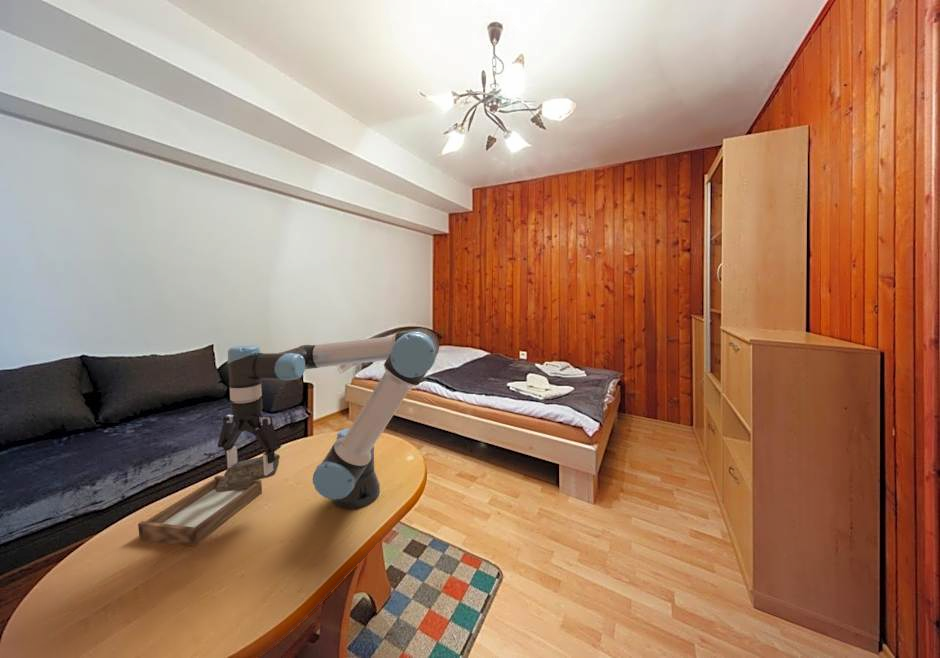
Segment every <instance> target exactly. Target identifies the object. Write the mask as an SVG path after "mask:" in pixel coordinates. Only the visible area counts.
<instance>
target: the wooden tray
mask: <svg viewBox="0 0 940 658" xmlns="http://www.w3.org/2000/svg"><path fill="white" fill-rule="evenodd" d="M223 476H224V475H215V476H214V477H213V478H214V479H212V480H210V481H208V482H207V483H205V484H204V485H202V486H200V487H199V488H197V489H195V490H194V491H193V492H191V493H189V494H187V495H186V496H184V497H182V498H181V499H179V500H178V501H176V502H174V503H172V504H171V505H170V506H168V507H166V508H165V509H163V510H161V511H159V512H158V513H156V514H154V515H153V516H151V517H150V518H149V519H147V520H145V521H144V520H141V521H139V522H138V523H137V526H138V537H139V540H140V541H145V542H146V541H147V542H152V543H153V542H156V543H161V544H170V545H176V546H177V545H178V546H186V547H193V548H194V547H196V546H197V545H198V544H199V543H200V542H202V541H203V540H204V539H206V538H207V537H208V536H210V534H212V533H213V532H215V531H216V530H217V529H219V528H220V527H221V526H222V525H223V524H224V523H226V522H227V521H228V520H229V519H231V518H232V517H234V516H235V515H236V514H237V513H239V512H240V511H241V510H242V509H243V508H245V507H246V506H248V505H249V504H250V503H251V502H253V501H254V500H255V499H256V498H258V497H259V496H260V495H261V494H263V486H262V483H263V482H262V479H259V480H254V481H253V482H252V483H251V484H250V485H249V486H247V487H246V488H243V489H237V490H232V491H226V492H217V491H216V486H217V484H218V482H219V480H220V478H221V477H223Z"/></svg>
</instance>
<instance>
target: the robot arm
mask: <svg viewBox="0 0 940 658" xmlns="http://www.w3.org/2000/svg"><path fill="white" fill-rule="evenodd" d="M439 350H440V344H439V340H438V338H437V336H436V335H435V333H433V331H431V330H429V329H426V328H422V327H421V328H420V327H419V328H414V329H410V330H406V331H400V332H398V331H397V332H395V333H394V334H393V335H392V336H383V337H372V338H366V339H365V338H364V339H357V340H348V341H346V340H345V341H340V342H338V341H337V342H331V343H321V344H320V343H319V344H303V345H300V346H298V347H295V348H292V349H288V350H284V351H282V352H281V351H280V352H278V353H276V352H275V353H274V352H273V353H272V352H271V353H266V352H265V353H263V352H261V350H260V347H259V346H258V345H255V344H246V345H243V344H242V345H237V346H232V347H230V348H229V349H228V351H227V363H226V364H227V370H228V377H229V378H228V379H229V383H228V384H229V400H230V401H231V402H230V414H227V415H225V416H223V417H222V423H223V424H222V428H221V431H220V436H219V437H218V438H219V439H218V442H217V448H222V449H223V450H224V455H225V456H224V457H225V460H226V463H227V469H228V468H230V467H232V466H233V465H234V464H235V463H237V462H239V461H238V449H237V446H236V445H237V444H236V442H237V441H238V439H239V437H240V436H241V434H242V432H247V433H248V432H250V433H251V435H253V436H254V437H255V438H256V439H257V441H258V443H259V444H260V446H261V447H262V449H263V451H264V453H263V454H262V456H263V464H264V475H266V476H267V475H268V474H269V473H271V472H272V471H273V462H274V460H275V455H274V453H275V452H276V451H278V450H280V449H281V447H282V445H281V443H280V441H279V440H280V439H279V436H278V435H277V432H276V430H275V427H274V425H273V417H272V416H271V415H269V416H267V417H264V416H263V414H262V411H263V398H262V396H263V392H262V380H264V381H266V380H267V381H269V380H271V381H278V380H279V381H293V380H299V379H300V378H301V377H302V376H303V374H304V373H305V370H311V369H319V368H326V367H327V368H328V367H335V366H336V367H337V366H345V365H353V364H354V365H355V364H363V363H373V362H381V361H383V362H384V363H383V367H384V370H385V372H384V373H383V375H382V377H381V378H380V380H379V382H377V385H376V386H375V388H374V389H373V391H372V393H371V394H370V396H369V397H368V399H367V400H366V402H365V403H364V405H363V407H362V408H361V410H360V412H359V413H358V415H357V416H356V418H355V419H354V421H353V423H352V424H351V425H350V427H348V428H344V429H341V430H339V431H338V432H337V434H336V438H335V439H336V440H335V442H333V445H332V446H331V447H330V449H329V451H328V452H327V454H326V456H325V457H324V459H323V460H322V461H321V463H320V464H319V465H318V466H316V468H315V470H314V471H313V474H312V485H314V489H315V490H316V492H317V493H318V494H319V495H320V496H322V497H324V498H325V499H328V500H332V501H333V503H334V505H335V506H337V507H338V508H341V509H346V510H347V509H349V510H350V509H357V508H358V509H359V508H362V507H366V506H367V505H369V504H371V503H373V502H374V501H376V499H377V498H378V497H379V495H380V492H381V485H380V484H381V483H380V482H379V478H378V477H377V476H378V475H377V474H376V471H375V444H376V443H377V442H378V440H379V438H380V437H381V435H382V434H383V432H384V431H385V429H386V427H387V425H388V424H390V423H389V422H390V421H391V420H392V418H393V417H394V415H395V413H396V412H397V410H398V408H399V407H400V405H402V404H401V403H402V402H403V401H404V399H405V397H407V394H408V393H409V391H410V390H411V388H413V387H417V386H419V385H420V384H421V382H422V381H423V379H424V377H425V376H426V374H427V373H428V371H430V370H431V368H432V367H433V366H434V364H435V362H436V358H437V356H438V354H439ZM234 424H235V425H234Z"/></svg>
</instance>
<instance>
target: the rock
mask: <svg viewBox="0 0 940 658" xmlns="http://www.w3.org/2000/svg"><path fill="white" fill-rule="evenodd" d="M274 455H275V460H274V462H273V471H272V472H271V473H269V474H268V475H267V476H266V475H264V464H263V455H262V456H259V457H254V458H250V459H245V460H244V459H243V460H240V461H238V462H237V463H235V464H234V465H233V466H232V467H230V468H228V467H227V469H226V471H225V472H224V475H222V476H223V477H221V478H220V480H219V482H218V484H217V486H216V491H217V492H226V491H232V490H237V489H243V488H246V487H247V486H249V485H250V484H251V483H252V482H253V481H254V480H265V479H267V478H270V477H273V476H275V475H276V473H277V470H278V467H279V463H280V461H279V460H280V455H279V454H277V453H275V452H274Z"/></svg>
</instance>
